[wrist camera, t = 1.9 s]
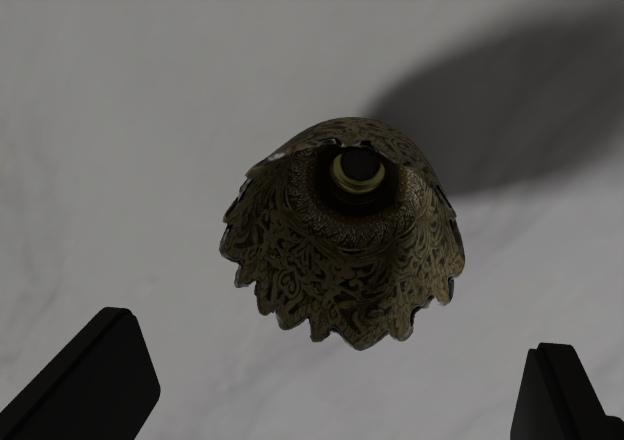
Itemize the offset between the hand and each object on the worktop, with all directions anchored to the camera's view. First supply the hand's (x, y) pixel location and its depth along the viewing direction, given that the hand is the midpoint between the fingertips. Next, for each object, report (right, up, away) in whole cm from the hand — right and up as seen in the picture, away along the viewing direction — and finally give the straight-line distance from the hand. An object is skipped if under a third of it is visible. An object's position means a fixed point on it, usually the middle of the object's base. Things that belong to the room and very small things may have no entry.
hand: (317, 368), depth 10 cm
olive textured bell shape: (+2, +6, +10) cm, 12 cm away
